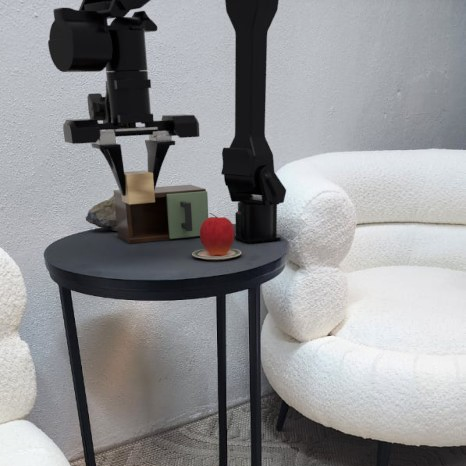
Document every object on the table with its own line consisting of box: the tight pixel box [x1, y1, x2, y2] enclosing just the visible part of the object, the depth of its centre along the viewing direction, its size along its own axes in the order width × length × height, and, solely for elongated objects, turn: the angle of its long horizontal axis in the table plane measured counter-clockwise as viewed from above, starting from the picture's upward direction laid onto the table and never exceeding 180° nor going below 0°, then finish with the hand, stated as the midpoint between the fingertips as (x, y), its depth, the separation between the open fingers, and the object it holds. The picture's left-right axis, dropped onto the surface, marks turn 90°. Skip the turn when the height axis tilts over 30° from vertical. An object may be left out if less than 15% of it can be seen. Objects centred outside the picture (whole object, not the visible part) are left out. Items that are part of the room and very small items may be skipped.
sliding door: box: [166, 190, 209, 240], centre depth 122 cm, size 8×4×7 cm, turn 113°
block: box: [121, 170, 155, 205], centre depth 102 cm, size 4×4×4 cm
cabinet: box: [112, 184, 207, 245], centre depth 126 cm, size 15×8×8 cm, turn 113°
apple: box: [191, 212, 242, 261], centre depth 110 cm, size 8×8×6 cm
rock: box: [85, 194, 118, 232], centre depth 133 cm, size 11×6×10 cm
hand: (137, 194), depth 103 cm, fingers closed on block, 4 cm apart
